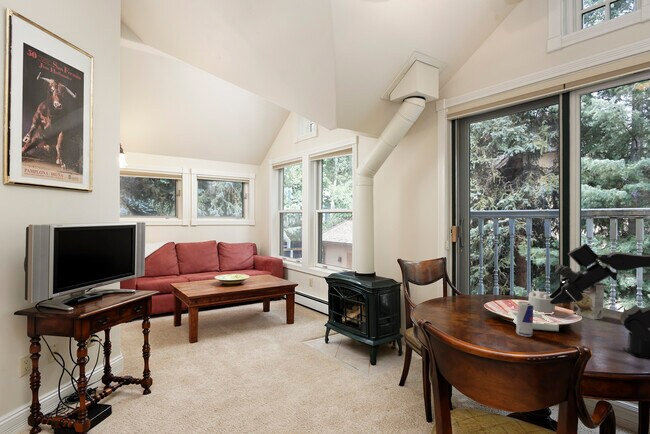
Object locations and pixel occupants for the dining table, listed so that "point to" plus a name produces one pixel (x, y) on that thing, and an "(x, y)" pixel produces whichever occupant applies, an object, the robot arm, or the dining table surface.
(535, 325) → the tray
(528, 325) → the energy drink
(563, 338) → the dining table surface
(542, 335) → the dining table surface
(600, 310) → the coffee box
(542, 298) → the lumpy-topped squat cylinder
